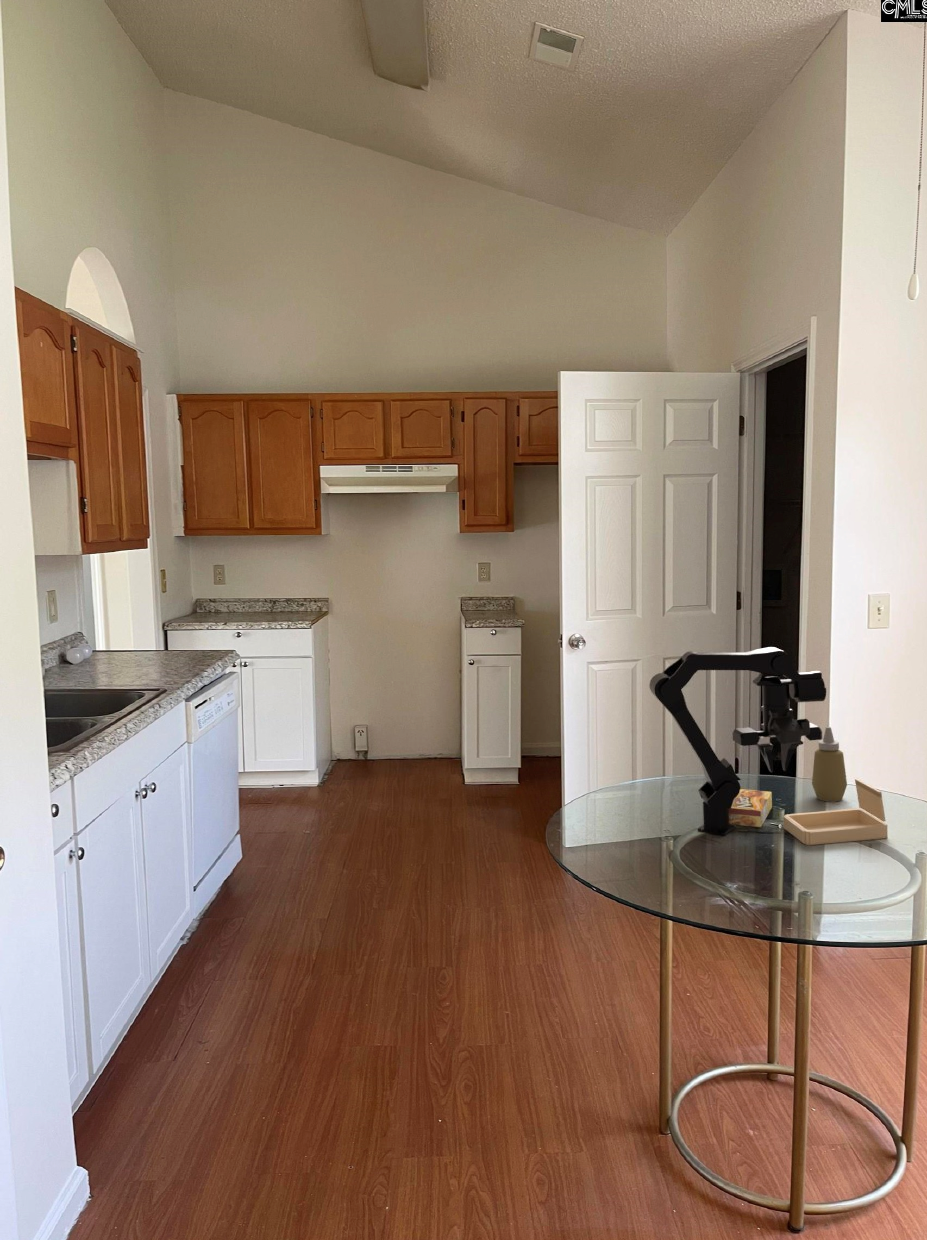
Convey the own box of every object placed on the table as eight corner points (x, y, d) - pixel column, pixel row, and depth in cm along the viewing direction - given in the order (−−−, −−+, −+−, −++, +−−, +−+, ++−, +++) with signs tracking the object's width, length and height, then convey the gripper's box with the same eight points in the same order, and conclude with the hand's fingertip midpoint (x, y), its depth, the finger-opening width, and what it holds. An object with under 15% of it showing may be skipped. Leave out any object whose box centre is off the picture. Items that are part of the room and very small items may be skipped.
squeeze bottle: (813, 803, 214) (812, 731, 212) (810, 793, 221) (809, 723, 219) (849, 804, 211) (848, 731, 209) (845, 794, 219) (844, 723, 217)
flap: (883, 821, 189) (878, 792, 188) (859, 807, 199) (854, 779, 198) (885, 821, 189) (881, 791, 188) (861, 806, 199) (857, 778, 198)
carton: (805, 846, 187) (805, 832, 187) (781, 827, 199) (781, 814, 199) (888, 838, 188) (888, 825, 188) (859, 820, 200) (859, 807, 200)
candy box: (735, 803, 217) (722, 824, 203) (734, 787, 216) (721, 807, 203) (772, 807, 212) (761, 828, 199) (772, 790, 212) (760, 810, 199)
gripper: (750, 714, 188) (752, 784, 190) (833, 707, 189) (835, 777, 191) (730, 704, 199) (732, 770, 201) (809, 697, 200) (811, 764, 202)
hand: (777, 771), depth 198 cm, fingers open, 3 cm apart
